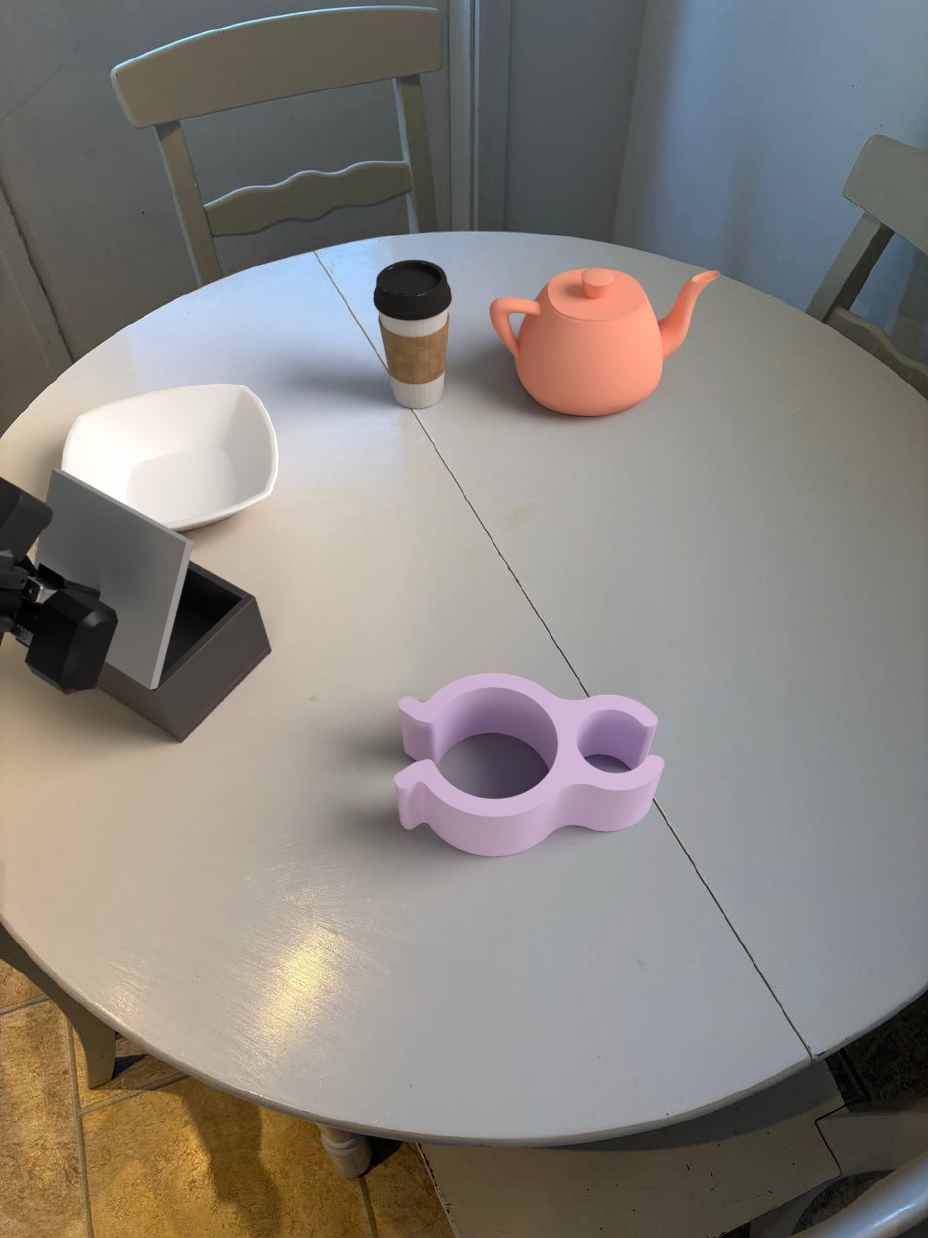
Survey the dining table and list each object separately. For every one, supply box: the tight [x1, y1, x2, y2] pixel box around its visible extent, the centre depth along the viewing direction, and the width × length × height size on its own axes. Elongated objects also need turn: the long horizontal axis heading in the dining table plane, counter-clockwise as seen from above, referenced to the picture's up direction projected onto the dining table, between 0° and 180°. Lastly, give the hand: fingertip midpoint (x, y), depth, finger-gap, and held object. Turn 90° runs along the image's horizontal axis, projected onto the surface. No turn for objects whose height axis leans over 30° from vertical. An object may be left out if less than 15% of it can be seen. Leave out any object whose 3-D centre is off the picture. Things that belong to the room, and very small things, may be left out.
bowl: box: [60, 383, 280, 533], centre depth 92 cm, size 22×22×5 cm
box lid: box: [33, 468, 195, 690], centre depth 69 cm, size 12×15×1 cm
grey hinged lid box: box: [96, 559, 272, 744], centre depth 78 cm, size 12×15×8 cm
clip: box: [393, 672, 666, 858], centre depth 70 cm, size 20×12×7 cm, turn 90°
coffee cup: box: [372, 259, 453, 410], centre depth 98 cm, size 8×8×15 cm
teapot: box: [489, 267, 721, 417], centre depth 100 cm, size 25×17×13 cm
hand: (95, 596), depth 69 cm, fingers closed, pressing on box lid
